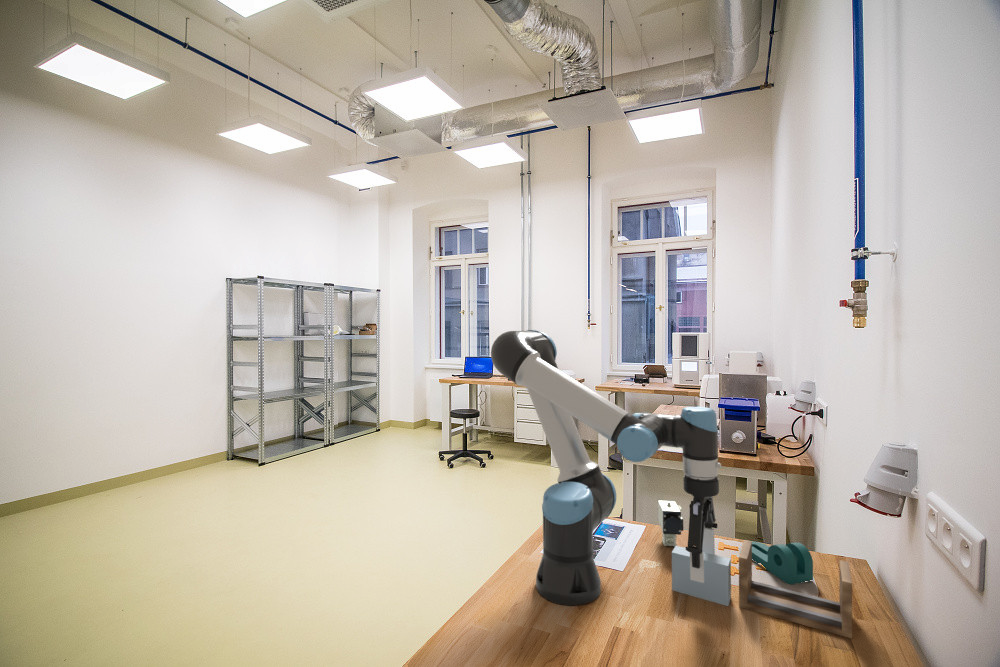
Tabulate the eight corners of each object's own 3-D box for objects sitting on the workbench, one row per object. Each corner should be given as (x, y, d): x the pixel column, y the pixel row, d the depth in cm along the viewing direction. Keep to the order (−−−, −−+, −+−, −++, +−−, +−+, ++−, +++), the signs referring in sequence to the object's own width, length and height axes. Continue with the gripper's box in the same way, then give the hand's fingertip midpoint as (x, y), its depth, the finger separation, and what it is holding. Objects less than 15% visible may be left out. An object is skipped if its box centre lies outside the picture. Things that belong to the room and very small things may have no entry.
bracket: (813, 582, 114) (812, 550, 114) (788, 585, 113) (788, 552, 113) (758, 548, 132) (758, 520, 132) (737, 550, 130) (737, 522, 130)
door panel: (672, 590, 111) (671, 552, 111) (676, 582, 114) (675, 545, 114) (728, 606, 104) (728, 566, 104) (730, 597, 108) (730, 558, 108)
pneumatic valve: (664, 553, 129) (664, 509, 129) (657, 534, 141) (657, 494, 140) (685, 554, 128) (685, 510, 128) (676, 535, 140) (676, 495, 139)
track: (739, 606, 104) (738, 557, 104) (744, 585, 112) (744, 539, 112) (852, 638, 93) (852, 583, 93) (848, 612, 101) (848, 561, 101)
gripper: (708, 494, 96) (711, 598, 96) (726, 463, 117) (728, 549, 117) (670, 488, 101) (673, 588, 101) (694, 460, 121) (696, 542, 121)
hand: (703, 567), depth 109 cm, fingers open, 13 cm apart
